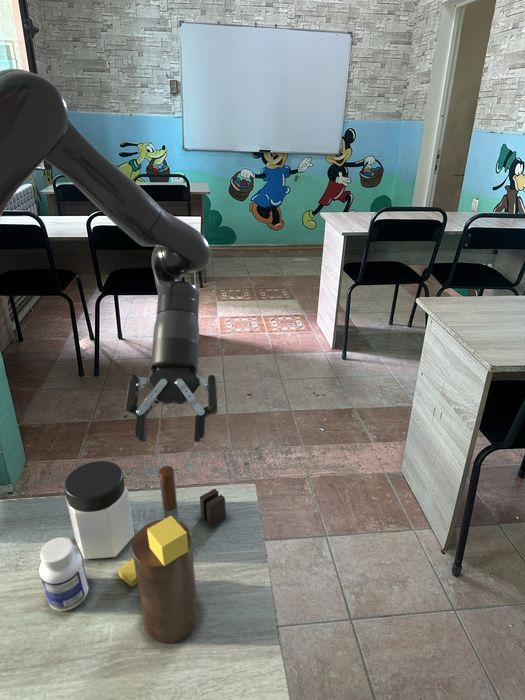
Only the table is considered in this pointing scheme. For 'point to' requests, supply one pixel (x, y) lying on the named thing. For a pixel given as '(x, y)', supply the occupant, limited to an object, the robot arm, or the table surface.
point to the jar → (99, 509)
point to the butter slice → (128, 573)
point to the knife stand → (212, 507)
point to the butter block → (167, 540)
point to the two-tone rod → (168, 492)
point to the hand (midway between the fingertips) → (170, 441)
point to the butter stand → (165, 589)
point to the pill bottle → (63, 574)
